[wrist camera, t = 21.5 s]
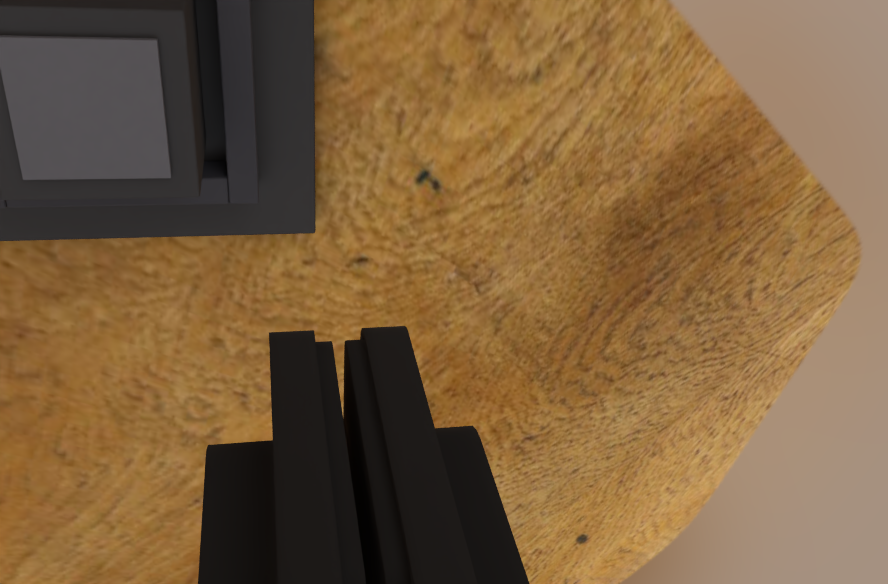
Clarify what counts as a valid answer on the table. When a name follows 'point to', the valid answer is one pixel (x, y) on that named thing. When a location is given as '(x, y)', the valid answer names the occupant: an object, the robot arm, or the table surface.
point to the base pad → (221, 140)
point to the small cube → (100, 100)
